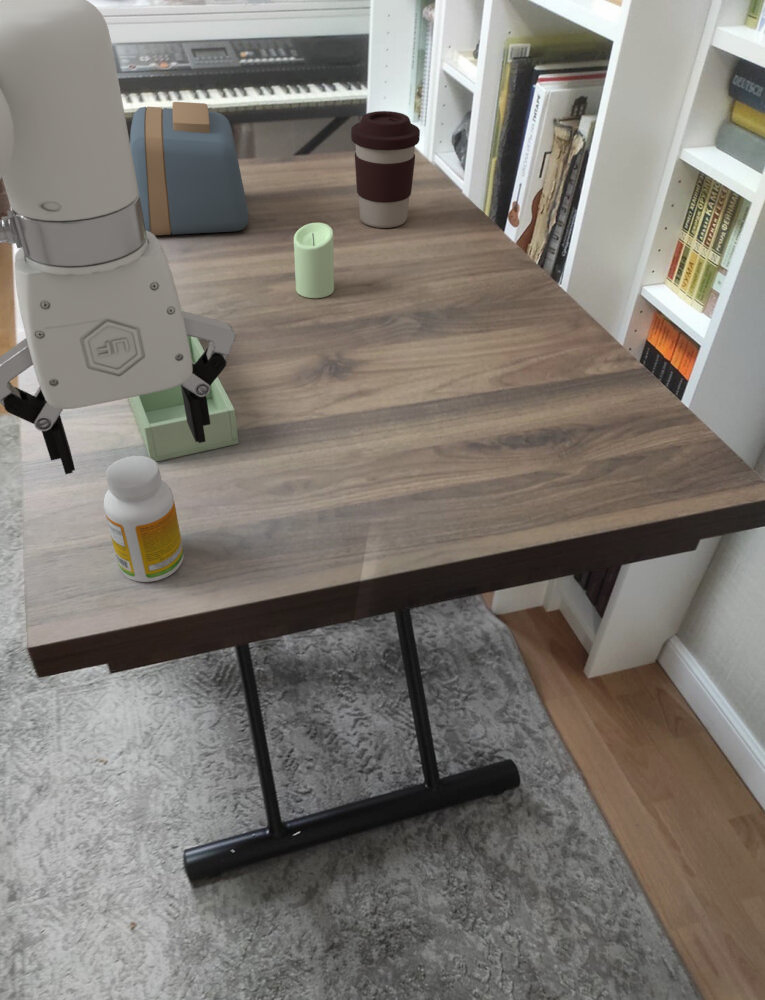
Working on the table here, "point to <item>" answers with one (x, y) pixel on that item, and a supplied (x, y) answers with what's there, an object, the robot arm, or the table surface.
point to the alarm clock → (187, 170)
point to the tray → (183, 419)
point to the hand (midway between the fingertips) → (133, 447)
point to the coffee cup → (384, 166)
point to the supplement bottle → (142, 520)
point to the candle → (314, 260)
